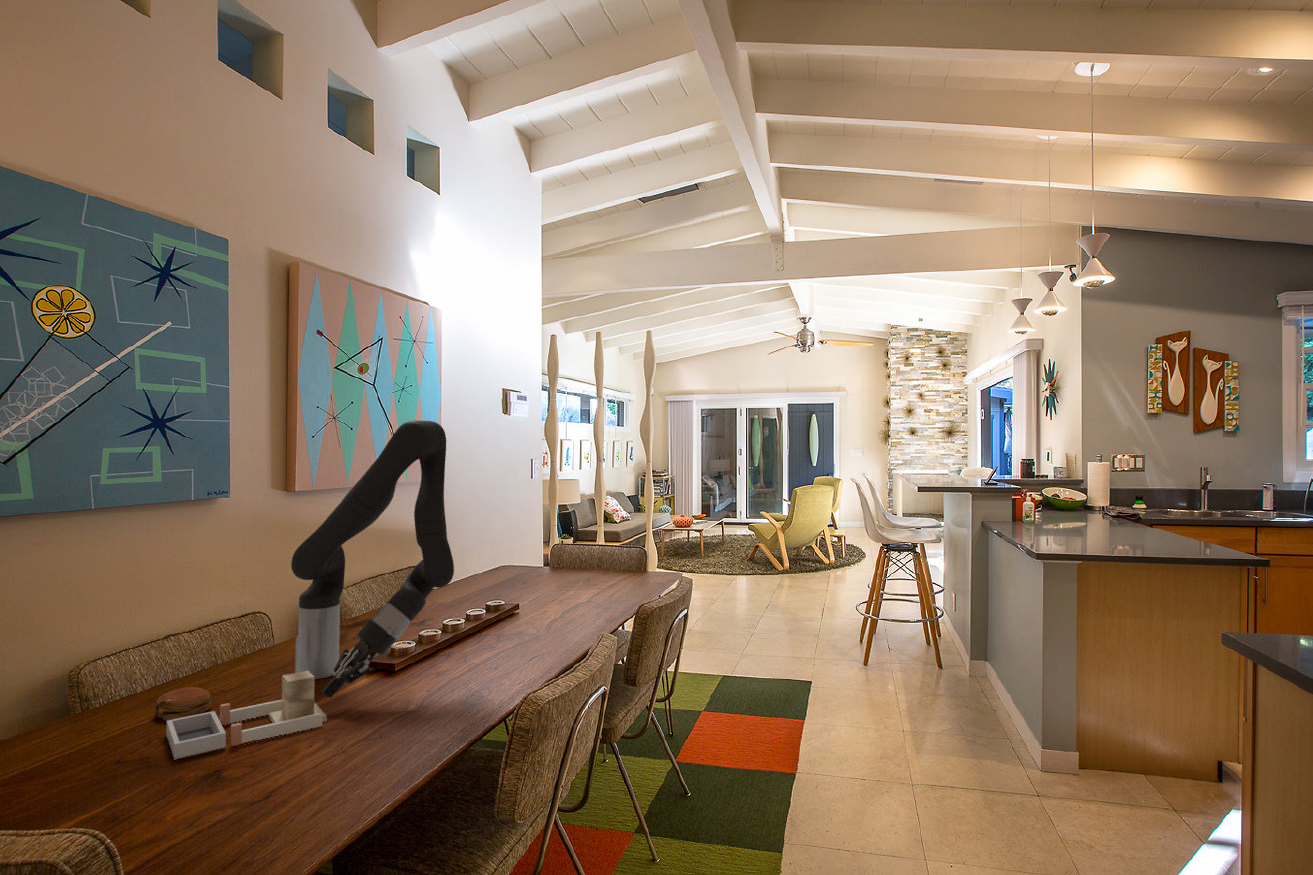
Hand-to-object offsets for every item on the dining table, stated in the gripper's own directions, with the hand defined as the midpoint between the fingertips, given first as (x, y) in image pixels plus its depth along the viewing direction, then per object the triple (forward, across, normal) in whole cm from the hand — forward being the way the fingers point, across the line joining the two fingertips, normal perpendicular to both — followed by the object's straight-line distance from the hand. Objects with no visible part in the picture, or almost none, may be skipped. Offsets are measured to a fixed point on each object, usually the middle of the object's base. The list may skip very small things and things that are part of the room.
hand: (325, 694), depth 149 cm
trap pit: (+19, 0, -14) cm, 24 cm away
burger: (+20, -19, -14) cm, 30 cm away
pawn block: (+7, 0, -1) cm, 7 cm away
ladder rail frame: (+10, 0, -5) cm, 11 cm away
